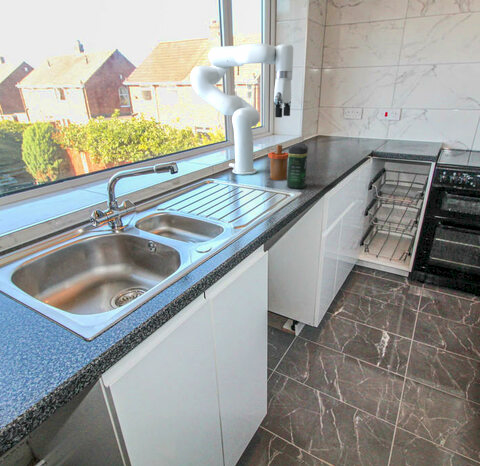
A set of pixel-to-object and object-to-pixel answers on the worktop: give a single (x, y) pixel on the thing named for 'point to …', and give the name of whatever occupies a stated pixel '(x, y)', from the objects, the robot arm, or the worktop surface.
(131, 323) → the worktop surface
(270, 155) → the bung
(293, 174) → the coffee jar
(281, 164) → the bottle
